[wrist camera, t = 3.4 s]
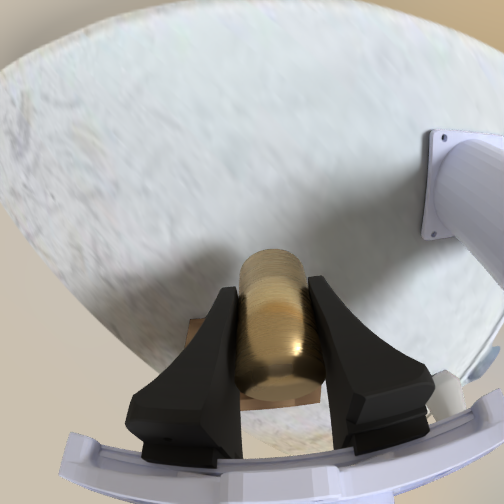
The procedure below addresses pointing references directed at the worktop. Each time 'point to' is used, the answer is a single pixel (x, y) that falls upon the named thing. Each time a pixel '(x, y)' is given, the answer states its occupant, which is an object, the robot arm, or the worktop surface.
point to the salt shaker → (446, 396)
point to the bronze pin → (276, 330)
